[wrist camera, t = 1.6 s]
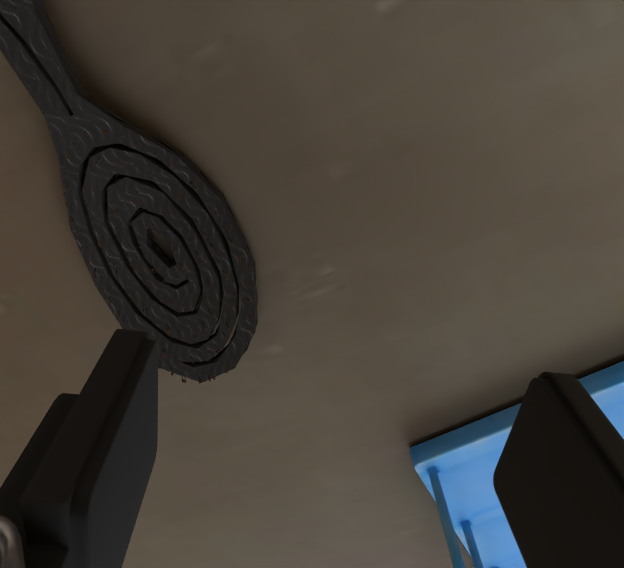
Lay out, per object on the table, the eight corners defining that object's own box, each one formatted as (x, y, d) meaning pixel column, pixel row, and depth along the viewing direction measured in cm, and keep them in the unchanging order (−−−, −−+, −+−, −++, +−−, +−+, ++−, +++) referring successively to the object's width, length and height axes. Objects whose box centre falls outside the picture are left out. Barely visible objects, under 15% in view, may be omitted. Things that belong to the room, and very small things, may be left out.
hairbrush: (-18, -248, 17) (287, 362, 27) (36, -201, 20) (289, 327, 30) (-218, -130, 18) (142, 413, 28) (-136, -104, 22) (160, 373, 31)
